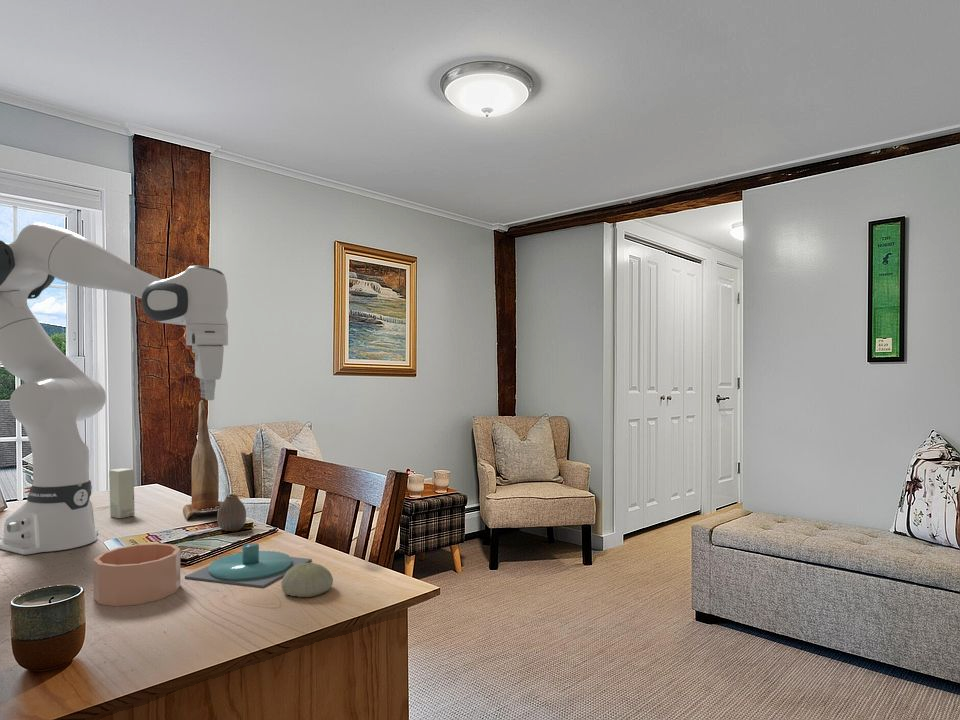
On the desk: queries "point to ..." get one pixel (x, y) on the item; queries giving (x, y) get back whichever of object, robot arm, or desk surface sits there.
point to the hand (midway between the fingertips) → (207, 399)
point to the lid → (249, 564)
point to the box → (121, 492)
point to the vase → (231, 514)
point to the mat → (262, 582)
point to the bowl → (136, 574)
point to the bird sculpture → (203, 472)
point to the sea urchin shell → (306, 580)
